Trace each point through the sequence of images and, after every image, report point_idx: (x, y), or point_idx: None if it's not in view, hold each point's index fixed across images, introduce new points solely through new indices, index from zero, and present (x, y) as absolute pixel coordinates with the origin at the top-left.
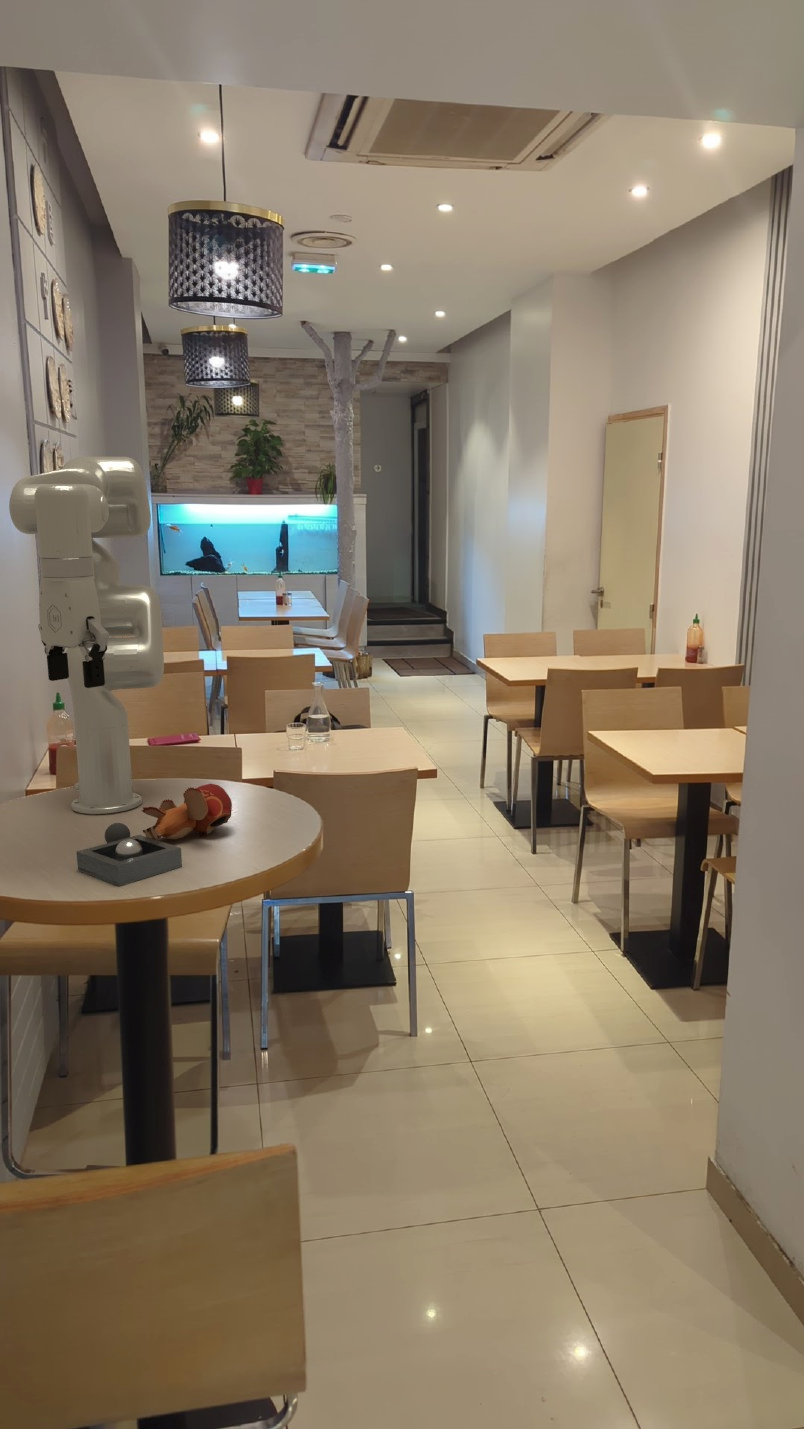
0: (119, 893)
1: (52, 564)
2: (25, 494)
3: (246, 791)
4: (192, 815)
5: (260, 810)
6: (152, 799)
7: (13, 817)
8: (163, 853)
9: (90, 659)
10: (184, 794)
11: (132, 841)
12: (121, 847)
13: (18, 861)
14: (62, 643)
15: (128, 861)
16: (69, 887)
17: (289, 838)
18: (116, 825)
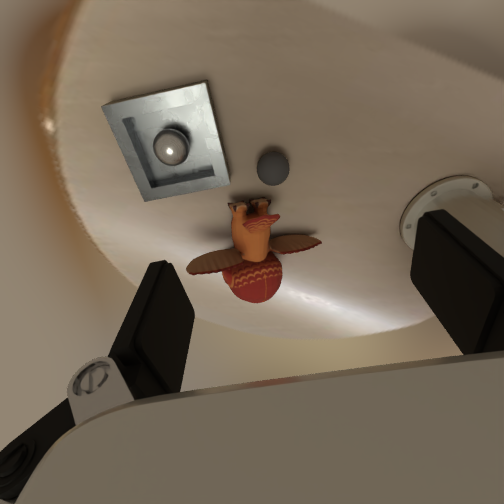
0: (82, 91)
1: None
2: None
3: (355, 327)
4: (224, 251)
5: (286, 313)
6: None
7: None
8: (133, 177)
9: (82, 376)
10: (239, 263)
11: (162, 156)
12: (159, 137)
13: (310, 13)
14: (215, 412)
15: (117, 128)
16: (139, 38)
17: None
18: (268, 171)
